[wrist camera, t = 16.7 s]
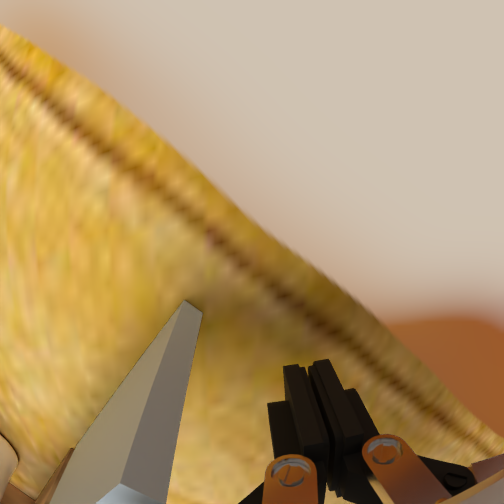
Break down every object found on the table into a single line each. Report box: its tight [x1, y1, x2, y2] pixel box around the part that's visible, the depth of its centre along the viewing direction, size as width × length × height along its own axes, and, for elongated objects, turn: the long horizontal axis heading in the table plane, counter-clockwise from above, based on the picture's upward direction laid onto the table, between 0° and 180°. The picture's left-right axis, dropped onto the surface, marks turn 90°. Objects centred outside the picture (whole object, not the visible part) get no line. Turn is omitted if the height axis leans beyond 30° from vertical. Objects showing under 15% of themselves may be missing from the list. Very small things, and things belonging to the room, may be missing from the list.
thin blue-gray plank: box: [49, 300, 203, 504], centre depth 10 cm, size 14×1×10 cm, turn 142°
